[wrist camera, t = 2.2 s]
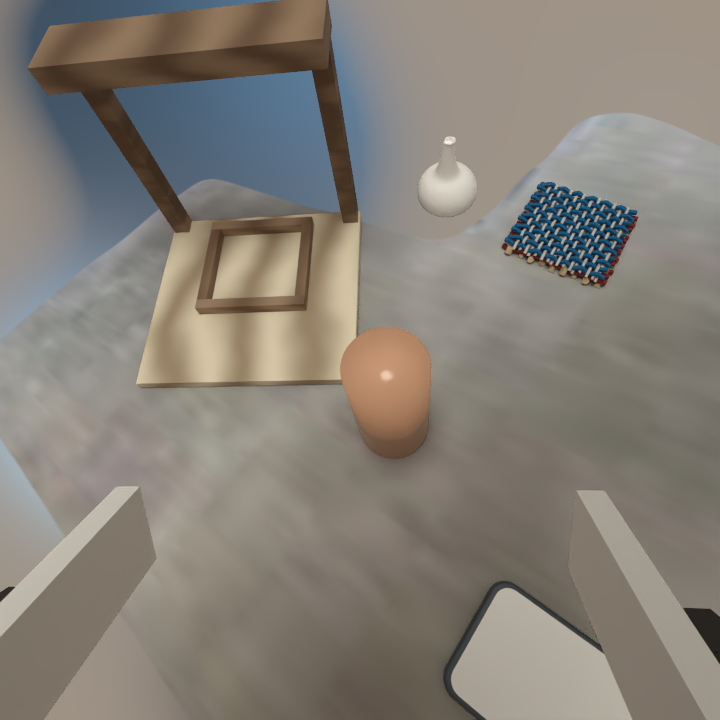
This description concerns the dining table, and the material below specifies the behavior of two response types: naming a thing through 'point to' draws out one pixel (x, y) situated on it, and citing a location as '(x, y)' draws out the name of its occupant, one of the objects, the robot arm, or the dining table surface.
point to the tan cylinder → (388, 389)
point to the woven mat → (571, 233)
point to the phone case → (530, 665)
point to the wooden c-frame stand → (228, 236)
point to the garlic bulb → (447, 184)
